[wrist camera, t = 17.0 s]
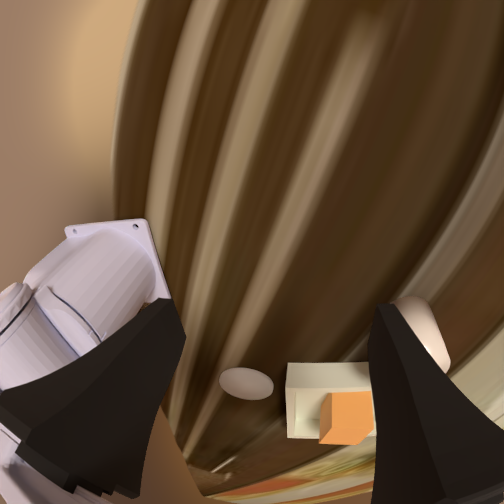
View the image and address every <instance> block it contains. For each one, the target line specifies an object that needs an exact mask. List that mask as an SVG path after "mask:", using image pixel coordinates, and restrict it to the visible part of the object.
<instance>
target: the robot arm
mask: <svg viewBox="0 0 504 504" xmlns="http://www.w3.org/2000/svg"><path fill="white" fill-rule="evenodd" d="M135 224H137V225H138V228H137V227H136V225H135ZM65 234H66V236H67V239H66V240H64V241H63V242H62V243H61V244H60V245H58V246H57V247H56V248H55V249H54V250H52V251H51V252H50V253H49V254H48V255H47V256H45V257H44V258H43V259H42V260H41V261H40V262H39V263H38V264H36V265H35V266H34V267H33V268H32V269H31V270H30V271H29V273H28V274H27V275H26V277H25V279H24V281H23V284H22V283H13V284H12V285H10V286H9V287H7V288H6V289H5V290H4V291H3V292H1V293H0V494H1V495H2V496H3V498H4V499H5V501H6V502H7V504H113V503H111V502H109V501H107V500H105V499H103V498H101V495H102V492H104V493H106V494H108V495H112V494H113V491H115V492H117V493H119V494H122V495H124V496H126V497H129V498H131V499H134V498H137V497H139V496H140V487H141V478H142V471H143V466H144V460H145V455H146V450H147V446H148V442H149V438H150V434H151V430H152V427H153V423H154V420H155V417H156V414H157V411H158V409H159V406H160V404H161V401H162V399H163V397H164V395H165V392H166V390H167V388H168V386H169V383H170V381H171V379H172V377H173V374H174V372H175V370H176V368H177V365H178V363H179V361H180V357H181V354H182V351H183V347H184V344H185V340H186V335H185V332H184V329H183V327H182V324H181V321H180V318H179V316H178V313H177V310H176V307H175V304H174V301H173V299H171V296H170V293H169V290H168V287H167V284H166V281H165V278H164V275H163V271H162V268H161V265H160V262H159V259H158V255H157V252H156V249H155V245H154V242H153V239H152V235H151V232H150V228H149V225H148V222H147V221H146V220H145V219H131V220H119V221H109V222H98V223H88V224H79V225H70V226H67V227H66V228H65ZM144 302H146V303H151V304H150V305H148V306H147V307H146V308H145V309H143V310H142V311H141V312H140V313H138V311H139V310H140V308H141V307H142V305H143V304H144ZM137 313H138V314H137ZM136 314H137V315H136ZM368 362H369V375H370V382H371V389H372V396H373V404H374V412H375V421H376V461H375V474H374V484H373V492H372V499H371V504H499V503H501V502H503V500H504V494H503V492H504V430H503V429H501V428H500V427H499V426H498V425H496V424H495V423H494V422H493V421H491V420H490V419H489V418H488V417H487V416H486V415H485V414H484V413H482V412H481V411H480V410H479V409H478V408H477V407H476V406H475V405H474V404H473V403H472V402H471V401H470V400H469V399H468V398H467V397H466V396H465V395H464V394H463V393H462V392H461V391H460V390H459V389H458V388H457V387H456V385H455V384H454V383H453V382H452V381H451V380H450V379H449V378H448V376H447V375H446V374H445V373H444V371H443V370H442V369H441V368H440V366H439V365H438V364H437V363H436V361H435V360H434V359H433V357H432V356H431V355H430V354H429V352H428V351H427V349H426V348H425V347H424V345H423V344H422V343H421V341H420V340H419V338H418V337H417V336H416V334H415V333H414V331H413V330H412V328H411V327H410V326H409V324H408V323H407V321H406V320H405V318H404V317H403V315H402V314H401V312H400V311H399V310H398V308H397V307H396V305H395V304H394V303H393V304H377V306H376V311H375V315H374V320H373V325H372V329H371V333H370V337H369V342H368Z"/></svg>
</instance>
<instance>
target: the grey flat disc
mask: <svg viewBox="0 0 504 504" xmlns="http://www.w3.org/2000/svg"><path fill="white" fill-rule="evenodd" d="M219 384H220V386H221V387H222V388H223V390H225V391H226V392H227V393H229V394H231V395H233V396H235V397H238V398H242V399H248V400H258V399H263V398H266V397H268V396H269V395H271V393H272V392H273V382H272V380H271V379H270V378H269V377H268V376H267V375H265V374H263V373H261V372H259V371H256V370H253V369H249V368H231V369H227V370H225V371H224V372H222V374H221V375H220V379H219Z"/></svg>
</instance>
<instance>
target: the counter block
mask: <svg viewBox="0 0 504 504" xmlns="http://www.w3.org/2000/svg"><path fill="white" fill-rule="evenodd" d="M373 429H374V421H373V408H372V397H371V391H362V392H337V393H328V395H327V396H326V398H325V400H324V402H323V403H322V405H321V412H320V434H319V443H321V444H346V445H358V444H359V443H360V442H361V441H362V440H363V439H364V438H365V437H366V436H367V435H368V434H369V433H370V432H371V431H372V430H373Z"/></svg>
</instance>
